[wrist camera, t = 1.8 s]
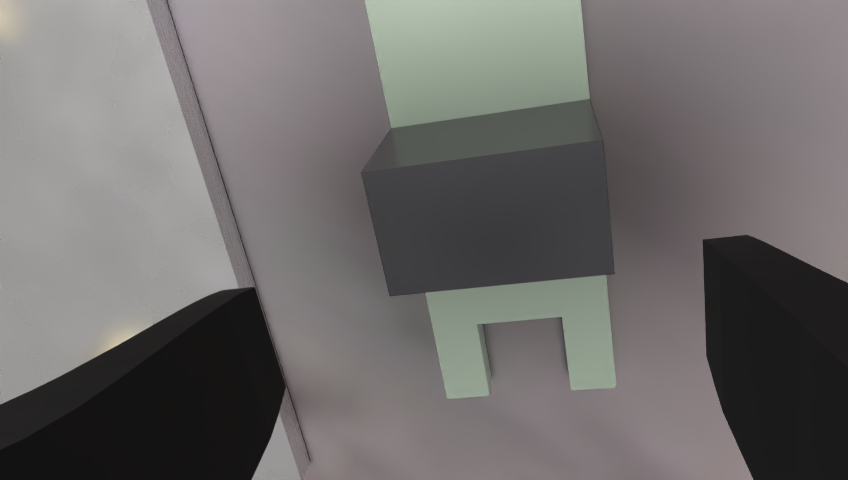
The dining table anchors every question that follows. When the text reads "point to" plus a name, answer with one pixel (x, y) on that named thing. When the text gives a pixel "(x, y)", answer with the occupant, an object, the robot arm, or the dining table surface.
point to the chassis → (107, 194)
